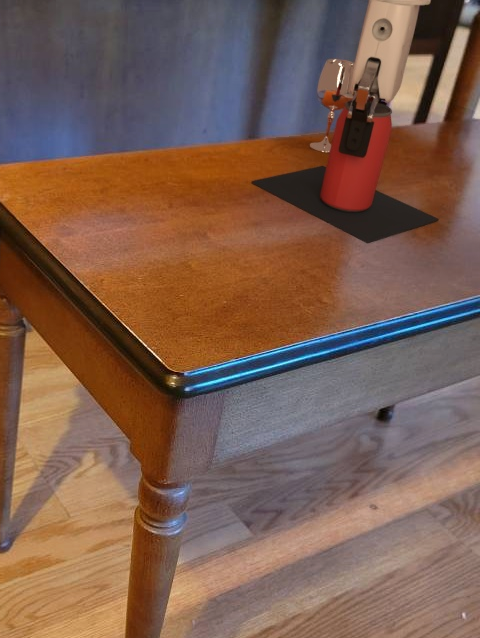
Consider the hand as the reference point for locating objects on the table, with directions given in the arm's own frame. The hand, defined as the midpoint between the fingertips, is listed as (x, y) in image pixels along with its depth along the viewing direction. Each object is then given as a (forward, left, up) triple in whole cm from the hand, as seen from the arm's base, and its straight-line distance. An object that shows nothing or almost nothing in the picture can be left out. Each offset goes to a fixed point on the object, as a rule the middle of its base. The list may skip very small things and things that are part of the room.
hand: (359, 143), depth 90 cm
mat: (+1, -1, -8) cm, 8 cm away
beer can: (0, 0, -8) cm, 8 cm away
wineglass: (+17, -15, -8) cm, 24 cm away
